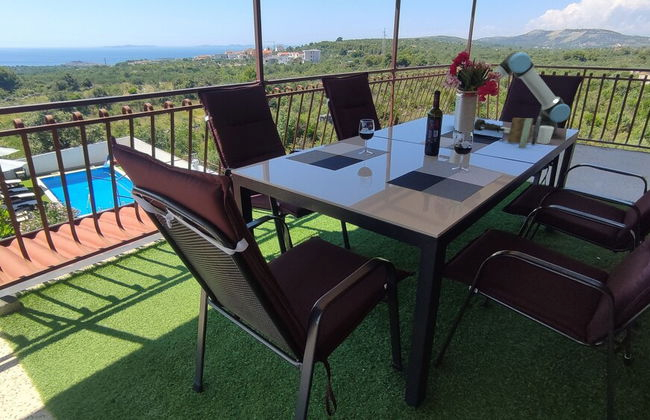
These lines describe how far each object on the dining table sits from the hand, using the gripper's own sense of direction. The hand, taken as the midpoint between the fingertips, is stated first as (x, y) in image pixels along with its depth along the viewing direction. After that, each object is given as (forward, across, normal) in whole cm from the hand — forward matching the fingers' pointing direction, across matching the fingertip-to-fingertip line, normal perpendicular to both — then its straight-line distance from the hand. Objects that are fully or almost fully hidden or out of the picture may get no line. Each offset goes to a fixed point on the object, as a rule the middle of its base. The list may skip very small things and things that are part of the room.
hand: (509, 130), depth 232 cm
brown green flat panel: (+5, -2, -7) cm, 9 cm away
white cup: (+13, -18, -7) cm, 23 cm away
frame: (+12, -1, -7) cm, 14 cm away
